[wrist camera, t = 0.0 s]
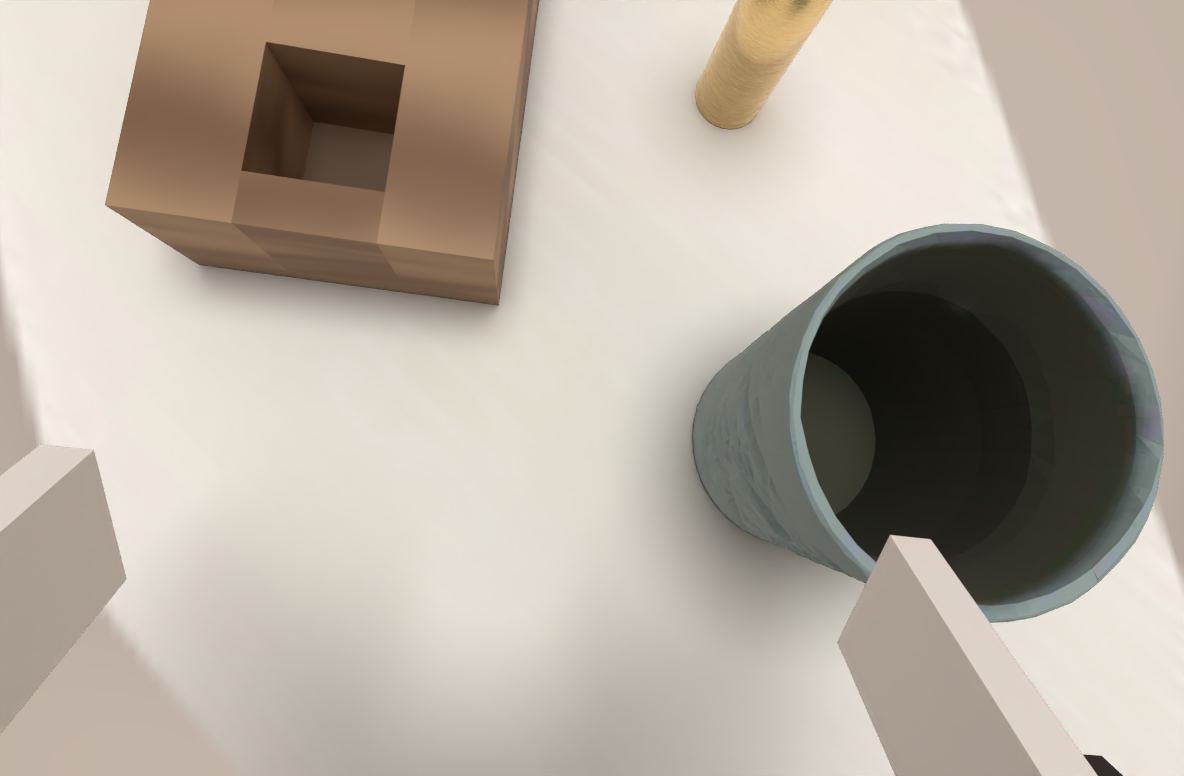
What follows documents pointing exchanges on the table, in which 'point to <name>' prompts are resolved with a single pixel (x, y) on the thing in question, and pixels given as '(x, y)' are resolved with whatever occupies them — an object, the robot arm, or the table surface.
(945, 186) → the table surface
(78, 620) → the robot arm
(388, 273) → the walnut hole block
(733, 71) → the brass pin
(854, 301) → the grey-green cup
